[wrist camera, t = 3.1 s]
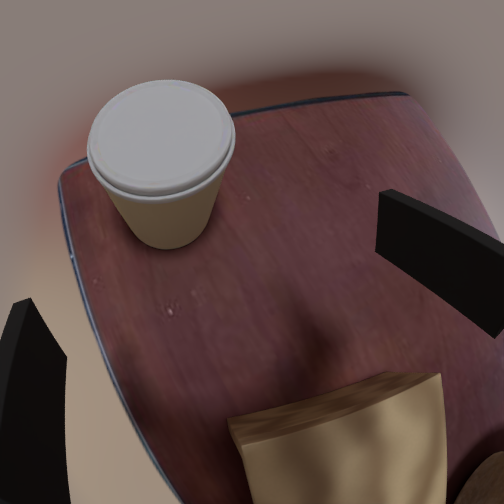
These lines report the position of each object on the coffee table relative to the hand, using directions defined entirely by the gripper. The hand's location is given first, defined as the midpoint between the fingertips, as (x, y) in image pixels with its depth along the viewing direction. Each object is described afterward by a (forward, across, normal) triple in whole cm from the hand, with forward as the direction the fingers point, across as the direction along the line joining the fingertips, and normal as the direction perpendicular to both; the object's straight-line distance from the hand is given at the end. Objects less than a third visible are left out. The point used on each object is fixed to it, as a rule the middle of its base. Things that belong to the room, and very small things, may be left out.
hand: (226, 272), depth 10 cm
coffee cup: (+19, 0, -4) cm, 20 cm away
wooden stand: (0, +5, -24) cm, 24 cm away
